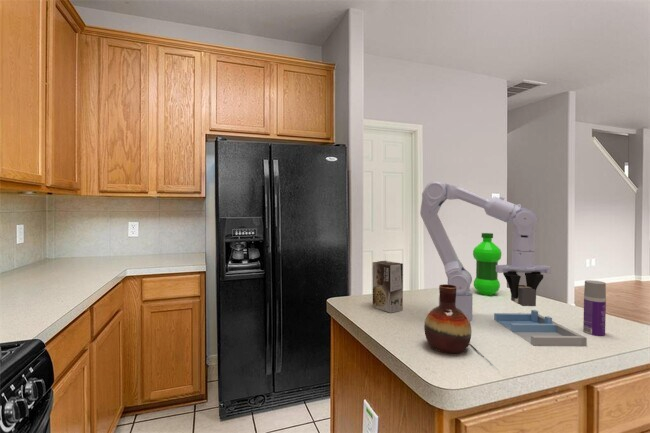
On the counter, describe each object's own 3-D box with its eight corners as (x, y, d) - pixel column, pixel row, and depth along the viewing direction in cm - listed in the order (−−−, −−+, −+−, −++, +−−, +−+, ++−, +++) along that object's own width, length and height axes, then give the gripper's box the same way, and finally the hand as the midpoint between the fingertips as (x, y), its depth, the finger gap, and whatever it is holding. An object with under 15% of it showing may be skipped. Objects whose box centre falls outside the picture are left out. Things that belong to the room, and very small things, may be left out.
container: (606, 341, 89) (607, 284, 88) (584, 337, 91) (585, 282, 91) (603, 335, 93) (604, 281, 92) (582, 332, 95) (583, 279, 95)
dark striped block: (522, 306, 93) (522, 289, 93) (510, 299, 99) (511, 284, 99) (536, 306, 93) (536, 289, 93) (523, 300, 99) (524, 284, 99)
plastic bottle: (481, 289, 146) (482, 232, 145) (505, 294, 137) (506, 233, 137) (467, 292, 141) (468, 233, 140) (491, 298, 132) (492, 234, 131)
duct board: (533, 349, 83) (533, 331, 83) (494, 322, 102) (494, 308, 102) (586, 349, 83) (586, 331, 83) (536, 323, 102) (537, 308, 102)
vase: (434, 335, 92) (434, 279, 91) (476, 346, 85) (477, 285, 84) (416, 348, 83) (417, 286, 83) (462, 361, 76) (463, 293, 76)
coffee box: (403, 310, 115) (404, 263, 115) (390, 313, 111) (390, 265, 111) (384, 304, 123) (385, 260, 122) (371, 306, 119) (371, 261, 119)
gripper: (505, 252, 92) (504, 301, 92) (558, 252, 92) (557, 302, 92) (492, 249, 99) (491, 294, 99) (542, 249, 99) (541, 295, 99)
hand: (522, 297), depth 96 cm, fingers closed on dark striped block, 4 cm apart
